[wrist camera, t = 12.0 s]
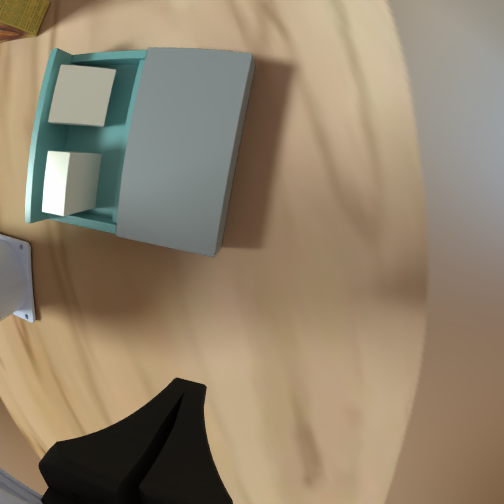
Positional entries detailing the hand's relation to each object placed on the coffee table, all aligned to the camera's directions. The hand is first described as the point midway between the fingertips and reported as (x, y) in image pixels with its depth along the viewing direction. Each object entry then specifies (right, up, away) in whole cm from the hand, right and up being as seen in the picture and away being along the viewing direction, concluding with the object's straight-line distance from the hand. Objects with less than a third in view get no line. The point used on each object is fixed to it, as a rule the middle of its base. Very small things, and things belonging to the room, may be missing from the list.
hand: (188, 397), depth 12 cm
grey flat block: (-2, +13, +8) cm, 15 cm away
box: (-9, +15, +8) cm, 19 cm away
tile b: (-8, +17, +4) cm, 19 cm away
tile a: (-9, +11, +6) cm, 15 cm away
